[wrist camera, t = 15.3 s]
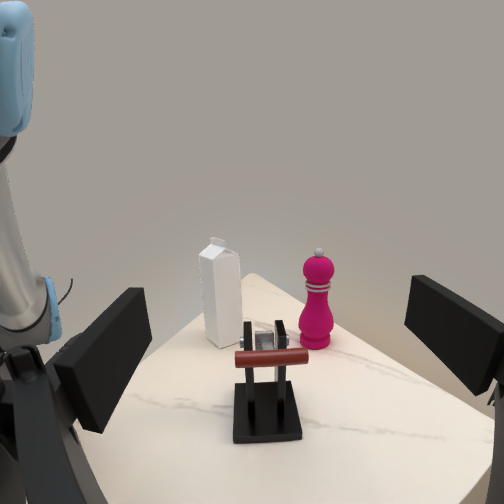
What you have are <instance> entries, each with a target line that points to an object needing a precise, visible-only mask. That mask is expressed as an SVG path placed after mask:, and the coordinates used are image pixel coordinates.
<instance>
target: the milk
mask: <svg viewBox="0 0 504 504" xmlns="http://www.w3.org/2000/svg"><path fill="white" fill-rule="evenodd" d="M210 240H211V244H210V245H209V246H208V247H207V248H205V249H204V250H203V251H202V252H201V253H200V254H199V266H200V278H201V289H202V300H203V310H204V319H205V328H206V337H207V338H208V339H209V340H210V341H211V342H212V343H214V344H215V345H216V346H217V347H218V348H220V349H221V348H224V347H227V346H230V345H232V344H235V343H238V342H240V337H243V316H242V297H241V278H240V257H239V254H237V253H235V252H233V251H231V250H229V249H227V248H226V241H225V240H223V239H219V238H214V237H211V238H210Z"/></svg>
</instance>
